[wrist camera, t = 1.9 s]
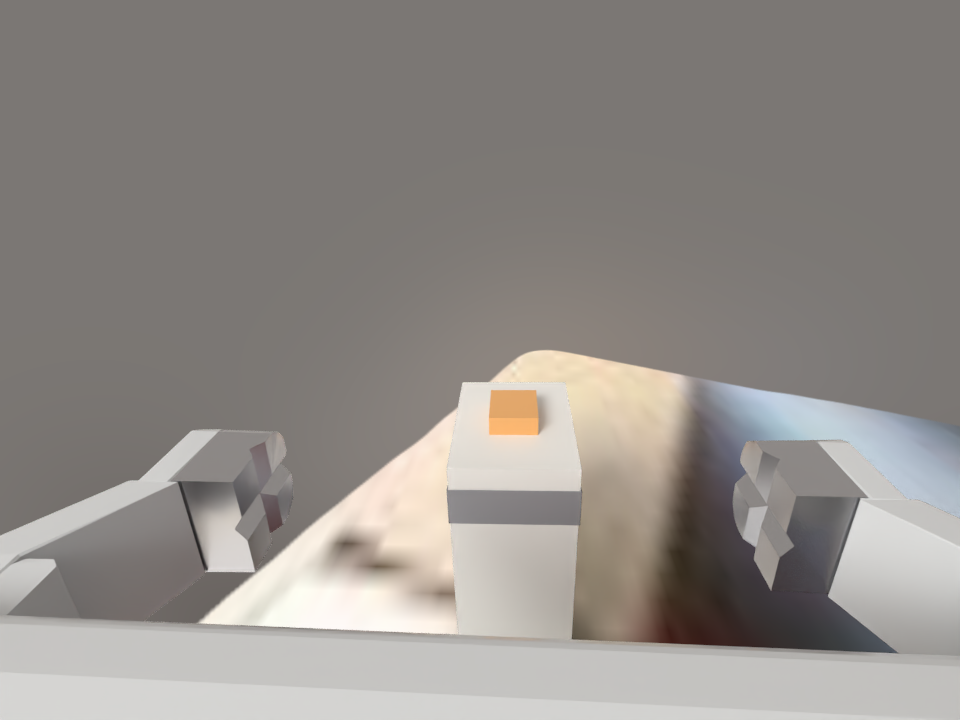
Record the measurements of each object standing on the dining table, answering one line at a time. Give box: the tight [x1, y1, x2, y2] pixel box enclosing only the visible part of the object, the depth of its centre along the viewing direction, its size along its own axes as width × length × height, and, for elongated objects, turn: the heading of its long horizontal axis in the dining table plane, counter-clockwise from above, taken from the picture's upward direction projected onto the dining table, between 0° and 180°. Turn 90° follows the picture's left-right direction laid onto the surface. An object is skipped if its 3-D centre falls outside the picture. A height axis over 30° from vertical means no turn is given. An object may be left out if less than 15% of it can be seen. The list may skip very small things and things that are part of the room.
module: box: [447, 382, 582, 639], centre depth 26 cm, size 7×5×15 cm
